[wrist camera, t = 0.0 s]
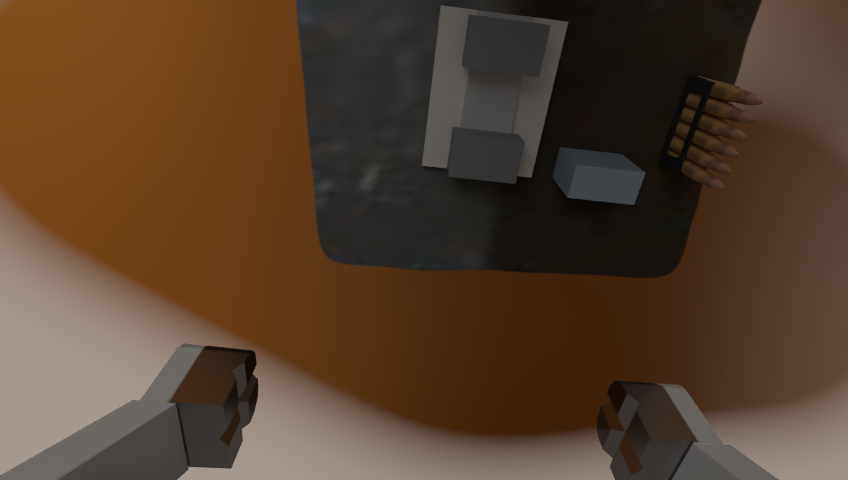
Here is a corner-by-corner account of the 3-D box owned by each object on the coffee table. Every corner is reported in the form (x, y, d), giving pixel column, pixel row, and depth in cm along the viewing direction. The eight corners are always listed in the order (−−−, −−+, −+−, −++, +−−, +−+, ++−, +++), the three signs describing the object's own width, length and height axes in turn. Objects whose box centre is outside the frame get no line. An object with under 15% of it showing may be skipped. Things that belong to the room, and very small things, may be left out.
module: (559, 147, 57) (576, 164, 51) (621, 154, 57) (645, 172, 51) (552, 177, 59) (567, 197, 53) (611, 183, 59) (633, 204, 53)
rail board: (440, 5, 49) (442, 5, 44) (565, 21, 50) (581, 23, 45) (422, 163, 58) (422, 177, 53) (529, 174, 58) (539, 190, 54)
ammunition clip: (689, 73, 53) (756, 91, 42) (704, 75, 53) (775, 93, 42) (658, 161, 58) (711, 196, 47) (672, 162, 58) (728, 198, 47)
